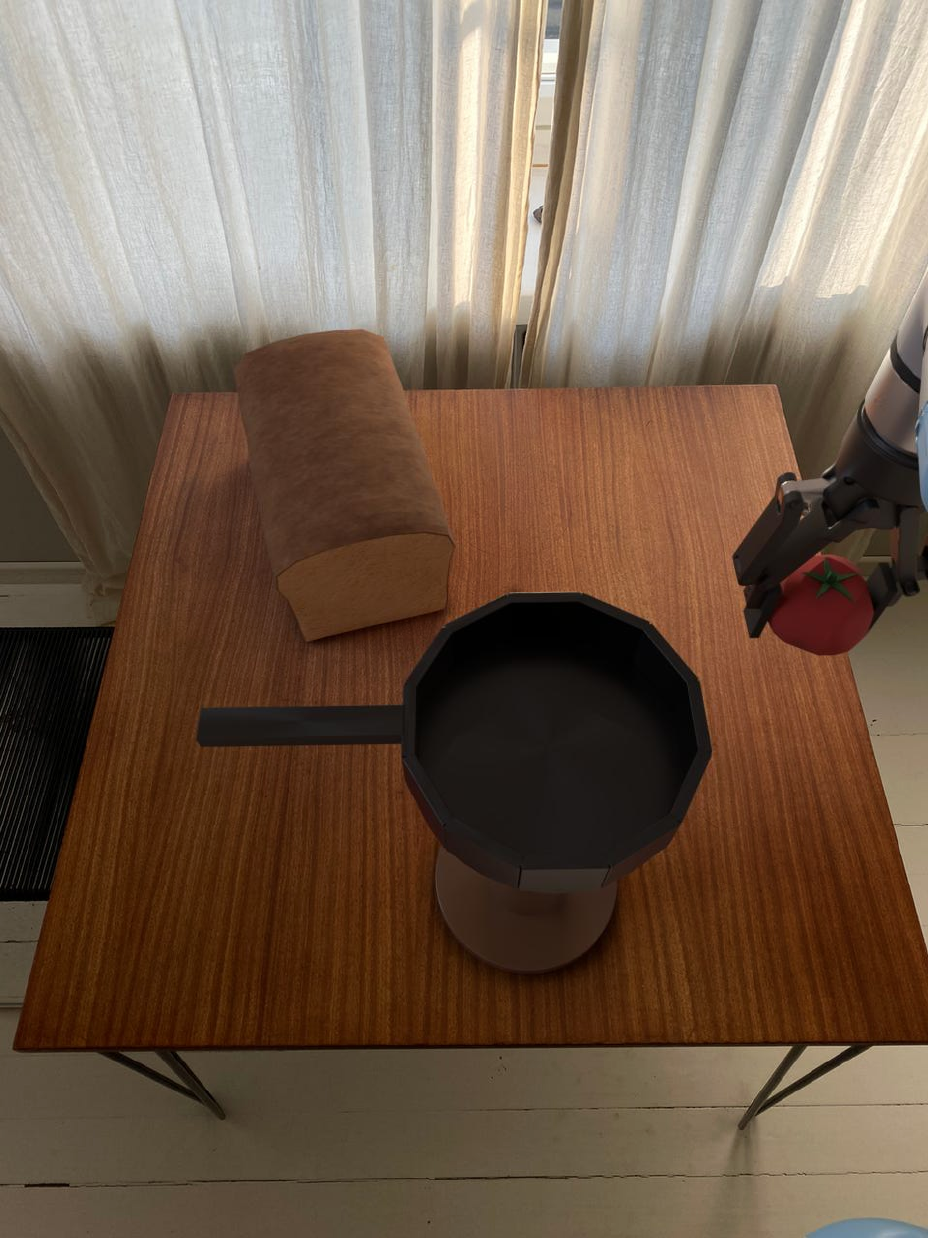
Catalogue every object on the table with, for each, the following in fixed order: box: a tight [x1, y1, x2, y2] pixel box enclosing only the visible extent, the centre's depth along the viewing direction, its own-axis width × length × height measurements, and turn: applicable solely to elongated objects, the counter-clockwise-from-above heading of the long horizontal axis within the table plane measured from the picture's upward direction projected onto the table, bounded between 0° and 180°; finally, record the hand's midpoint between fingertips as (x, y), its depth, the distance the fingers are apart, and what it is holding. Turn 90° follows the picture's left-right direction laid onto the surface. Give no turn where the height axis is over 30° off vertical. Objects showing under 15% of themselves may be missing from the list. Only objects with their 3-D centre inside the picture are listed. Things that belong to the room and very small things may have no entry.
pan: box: [195, 591, 713, 975], centre depth 64 cm, size 18×29×33 cm, turn 91°
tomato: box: [767, 554, 874, 657], centre depth 69 cm, size 8×8×7 cm
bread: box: [233, 328, 456, 643], centre depth 93 cm, size 18×30×16 cm, turn 15°
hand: (803, 623), depth 72 cm, fingers closed on tomato, 8 cm apart
